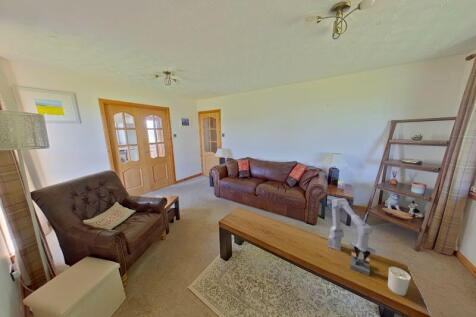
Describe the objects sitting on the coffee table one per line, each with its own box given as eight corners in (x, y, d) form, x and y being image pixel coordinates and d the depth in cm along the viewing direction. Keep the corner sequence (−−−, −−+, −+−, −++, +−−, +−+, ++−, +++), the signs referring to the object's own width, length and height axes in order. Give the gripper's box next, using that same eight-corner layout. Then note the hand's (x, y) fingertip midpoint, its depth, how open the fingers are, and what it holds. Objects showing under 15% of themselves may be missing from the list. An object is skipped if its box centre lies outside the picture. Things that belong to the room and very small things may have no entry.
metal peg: (357, 261, 118) (358, 251, 117) (357, 258, 121) (358, 248, 120) (363, 264, 116) (365, 254, 115) (363, 260, 119) (365, 250, 118)
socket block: (350, 268, 119) (350, 261, 118) (350, 258, 129) (351, 251, 128) (369, 276, 113) (370, 269, 112) (368, 264, 122) (369, 258, 121)
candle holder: (383, 280, 109) (385, 264, 108) (402, 285, 106) (405, 269, 104) (390, 293, 100) (393, 276, 99) (411, 299, 97) (414, 282, 95)
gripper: (350, 240, 117) (348, 256, 119) (376, 248, 109) (374, 266, 111) (350, 235, 123) (349, 251, 125) (375, 242, 114) (373, 259, 116)
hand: (360, 257), depth 118 cm, fingers closed on metal peg, 4 cm apart
